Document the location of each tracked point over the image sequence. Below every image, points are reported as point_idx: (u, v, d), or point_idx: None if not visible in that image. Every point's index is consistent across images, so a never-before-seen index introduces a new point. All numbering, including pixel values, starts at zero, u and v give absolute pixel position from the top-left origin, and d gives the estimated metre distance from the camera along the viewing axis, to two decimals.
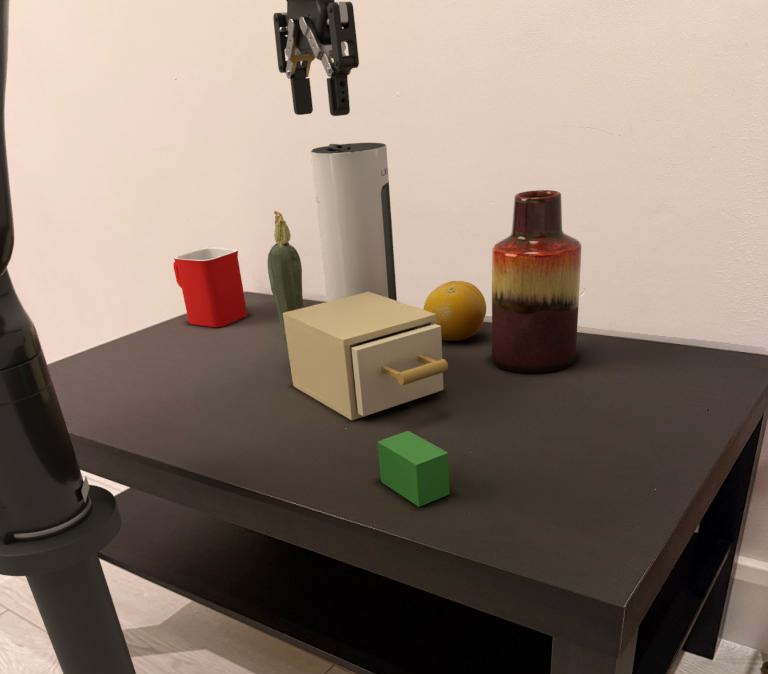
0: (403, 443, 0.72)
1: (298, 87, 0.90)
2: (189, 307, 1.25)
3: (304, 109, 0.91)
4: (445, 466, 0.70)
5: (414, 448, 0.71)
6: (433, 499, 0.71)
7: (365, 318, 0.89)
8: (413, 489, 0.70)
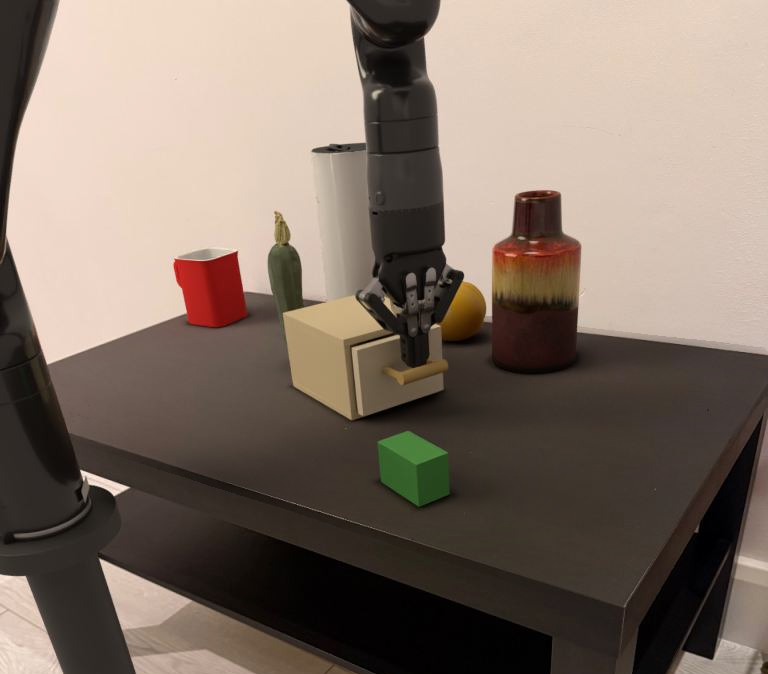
0: (403, 443, 0.72)
1: None
2: (189, 307, 1.25)
3: None
4: (445, 466, 0.70)
5: (414, 448, 0.71)
6: (433, 499, 0.71)
7: (365, 318, 0.89)
8: (413, 489, 0.70)
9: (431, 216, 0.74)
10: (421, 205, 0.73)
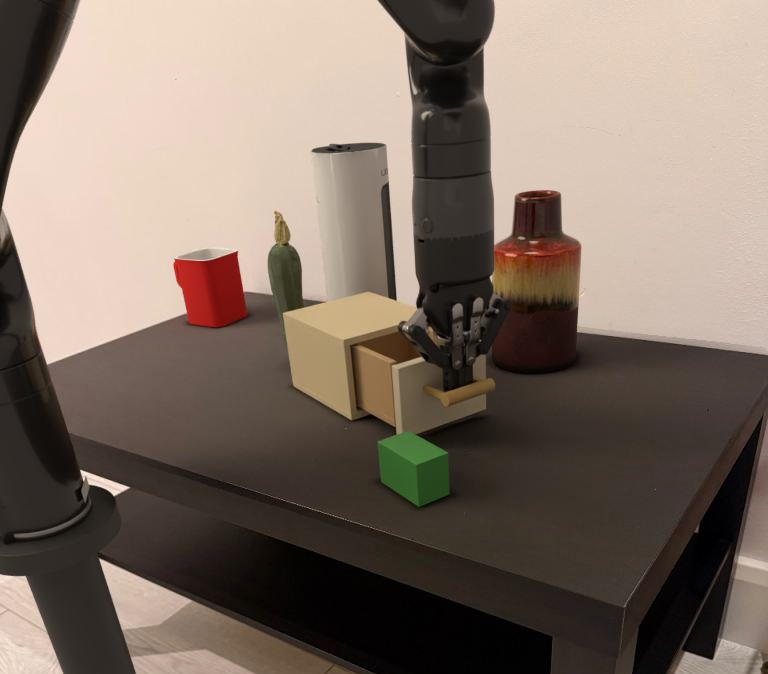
0: (403, 443, 0.72)
1: None
2: (189, 307, 1.25)
3: None
4: (445, 466, 0.70)
5: (414, 448, 0.71)
6: (433, 499, 0.71)
7: (365, 318, 0.89)
8: (413, 489, 0.70)
9: (482, 245, 0.69)
10: (472, 233, 0.68)
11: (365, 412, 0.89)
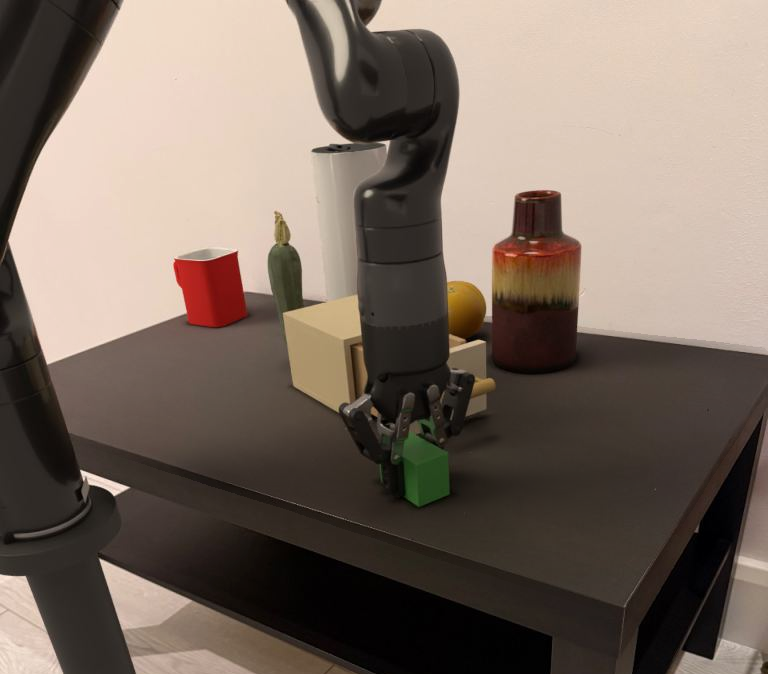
0: None
1: None
2: (189, 307, 1.25)
3: None
4: (445, 466, 0.70)
5: (413, 448, 0.71)
6: (433, 499, 0.71)
7: None
8: (413, 489, 0.70)
9: None
10: None
11: None
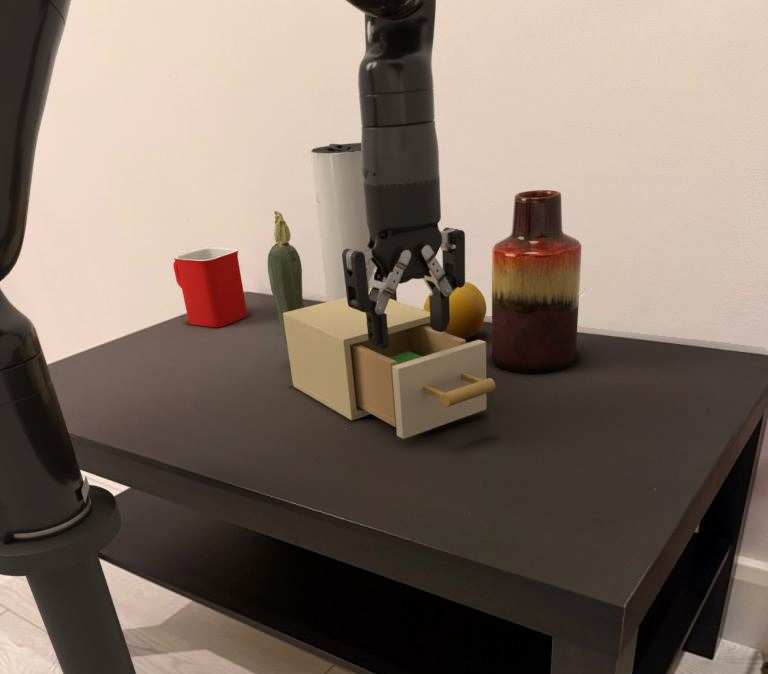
0: (405, 359, 0.86)
1: None
2: (189, 307, 1.25)
3: None
4: None
5: None
6: None
7: (365, 318, 0.89)
8: None
9: None
10: None
11: (365, 412, 0.89)
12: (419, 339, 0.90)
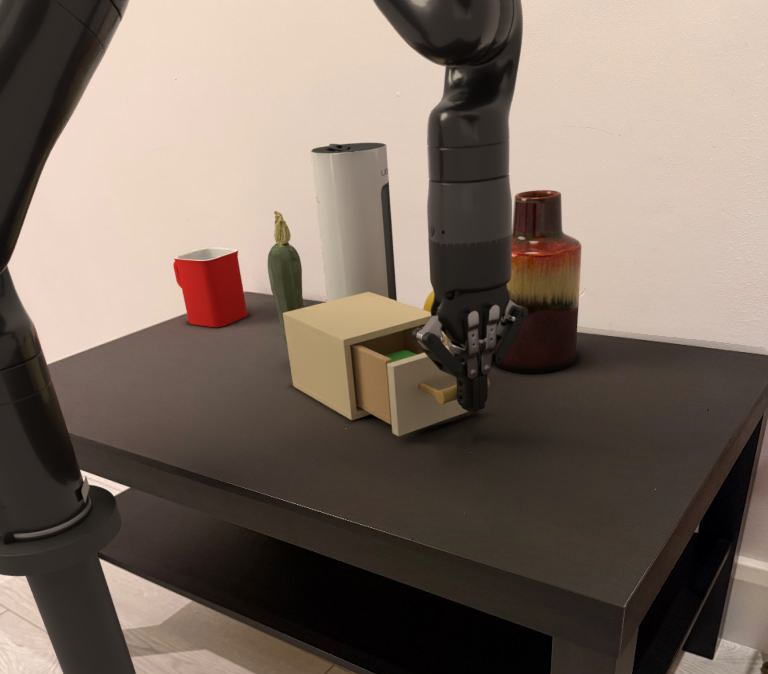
0: (401, 357, 0.86)
1: None
2: (189, 307, 1.25)
3: None
4: None
5: None
6: None
7: (365, 318, 0.89)
8: None
9: None
10: None
11: (365, 412, 0.89)
12: None
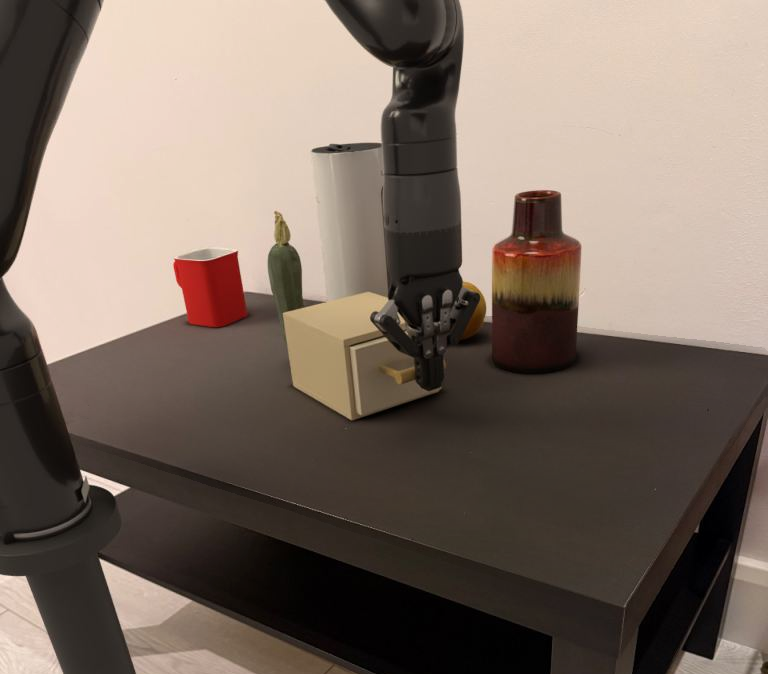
0: None
1: None
2: (189, 307, 1.25)
3: None
4: None
5: None
6: None
7: (365, 318, 0.89)
8: None
9: None
10: None
11: None
12: None
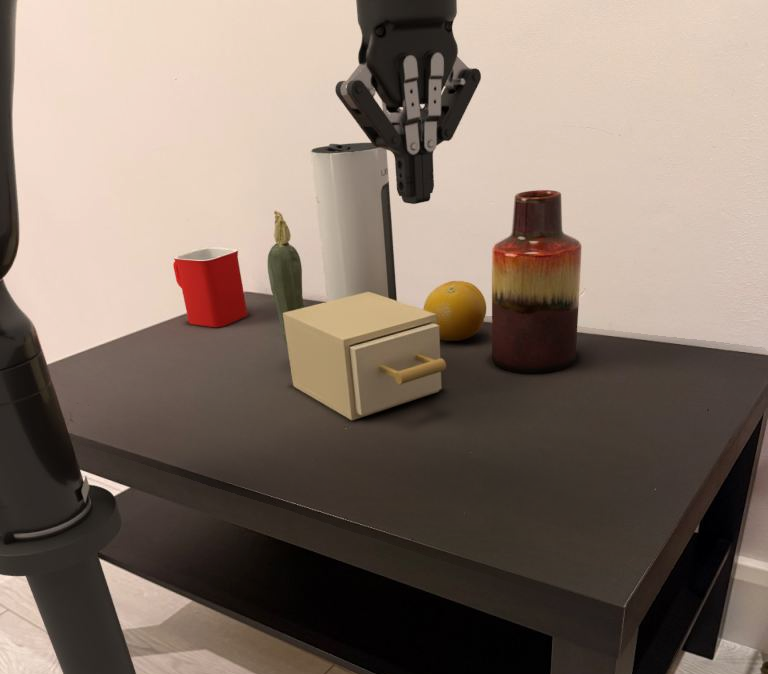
0: None
1: None
2: (189, 307, 1.25)
3: None
4: None
5: None
6: None
7: (365, 318, 0.89)
8: None
9: None
10: None
11: None
12: None
